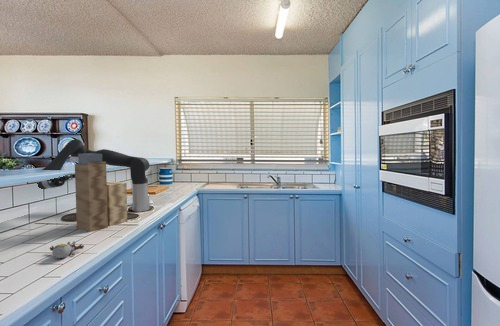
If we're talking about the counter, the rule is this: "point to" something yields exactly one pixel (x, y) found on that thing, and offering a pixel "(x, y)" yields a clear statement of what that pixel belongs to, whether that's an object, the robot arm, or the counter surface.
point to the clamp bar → (86, 158)
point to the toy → (64, 249)
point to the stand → (91, 196)
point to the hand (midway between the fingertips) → (73, 176)
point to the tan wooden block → (116, 203)
